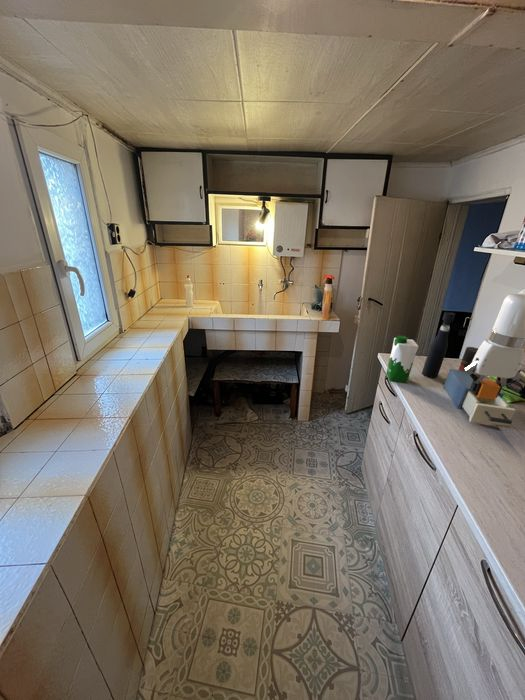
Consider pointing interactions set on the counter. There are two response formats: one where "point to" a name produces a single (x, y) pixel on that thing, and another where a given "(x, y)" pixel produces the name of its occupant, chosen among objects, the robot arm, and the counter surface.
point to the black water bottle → (438, 348)
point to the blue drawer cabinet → (459, 386)
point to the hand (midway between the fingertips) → (483, 393)
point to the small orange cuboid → (488, 389)
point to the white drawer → (487, 410)
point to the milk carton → (401, 359)
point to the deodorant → (468, 358)
